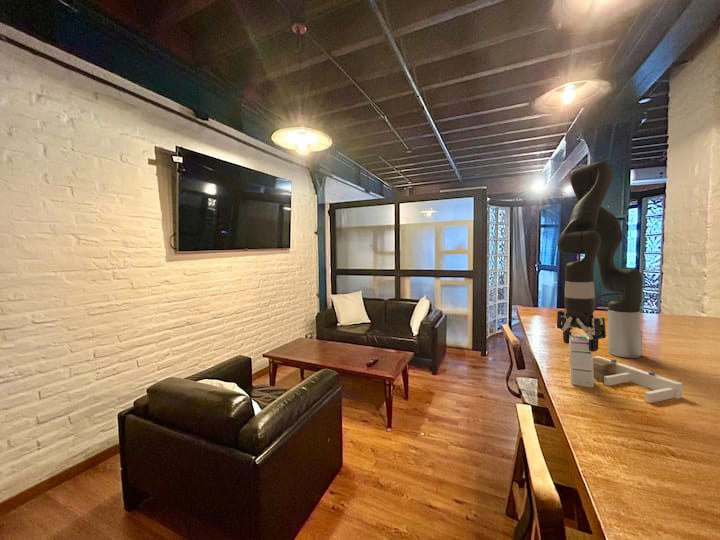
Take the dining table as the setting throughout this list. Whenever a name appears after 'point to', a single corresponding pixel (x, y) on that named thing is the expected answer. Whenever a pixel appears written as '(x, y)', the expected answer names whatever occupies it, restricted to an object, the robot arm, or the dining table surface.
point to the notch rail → (645, 382)
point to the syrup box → (581, 361)
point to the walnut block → (603, 368)
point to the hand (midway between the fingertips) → (579, 347)
